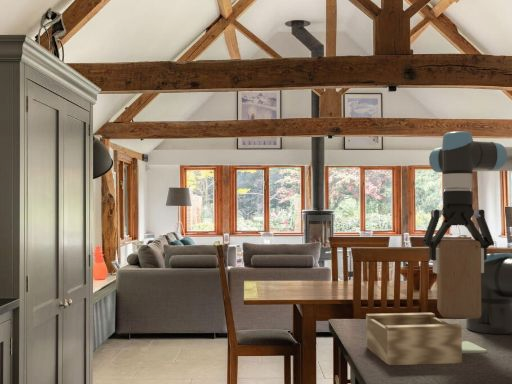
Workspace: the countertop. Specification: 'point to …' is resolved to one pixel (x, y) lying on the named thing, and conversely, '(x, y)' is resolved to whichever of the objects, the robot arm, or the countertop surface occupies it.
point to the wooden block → (459, 278)
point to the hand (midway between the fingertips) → (458, 272)
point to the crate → (413, 339)
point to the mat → (471, 348)
